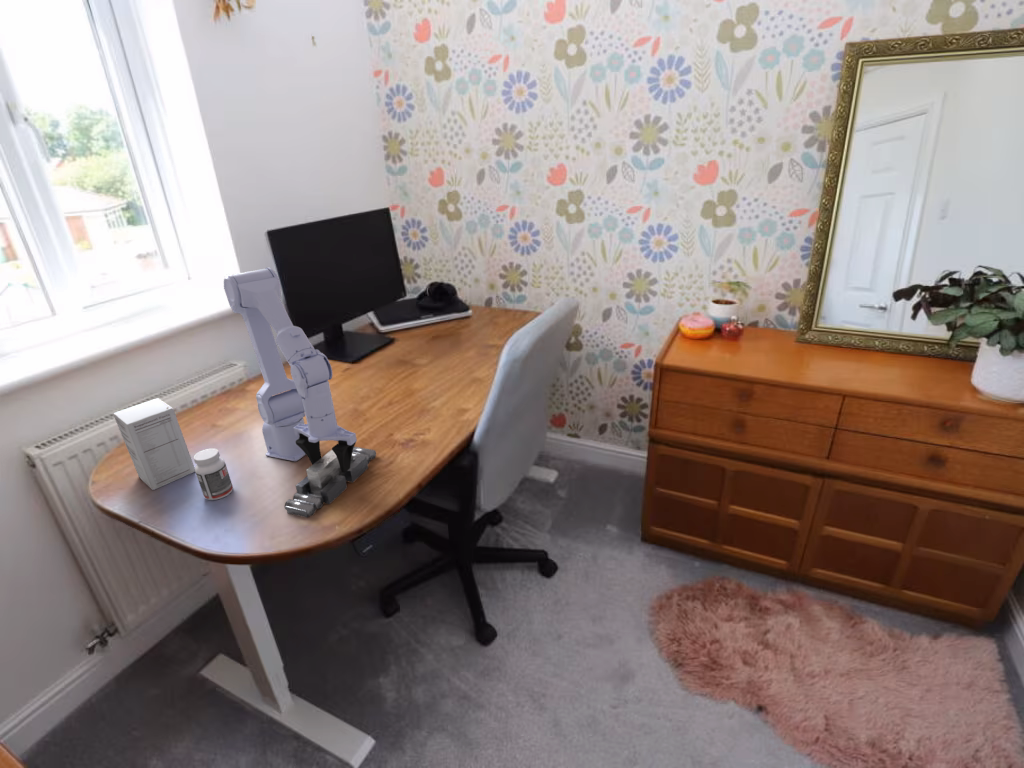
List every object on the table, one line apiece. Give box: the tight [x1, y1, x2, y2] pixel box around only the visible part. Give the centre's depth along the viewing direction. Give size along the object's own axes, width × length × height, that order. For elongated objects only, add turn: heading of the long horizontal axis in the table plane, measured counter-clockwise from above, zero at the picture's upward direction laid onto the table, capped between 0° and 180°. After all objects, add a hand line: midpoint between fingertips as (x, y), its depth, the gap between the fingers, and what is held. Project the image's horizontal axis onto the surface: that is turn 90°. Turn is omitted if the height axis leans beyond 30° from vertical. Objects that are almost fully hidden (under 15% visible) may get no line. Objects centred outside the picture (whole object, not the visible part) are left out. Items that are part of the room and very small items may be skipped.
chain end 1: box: [284, 475, 348, 519], centre depth 110 cm, size 8×11×3 cm
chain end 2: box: [344, 446, 377, 484], centre depth 121 cm, size 8×11×3 cm
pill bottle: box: [193, 447, 234, 501], centre depth 112 cm, size 6×6×10 cm
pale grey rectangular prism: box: [305, 449, 353, 494], centre depth 115 cm, size 3×11×6 cm, turn 160°
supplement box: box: [112, 397, 196, 491], centre depth 118 cm, size 10×9×17 cm
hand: (331, 467), depth 115 cm, fingers open, 7 cm apart
